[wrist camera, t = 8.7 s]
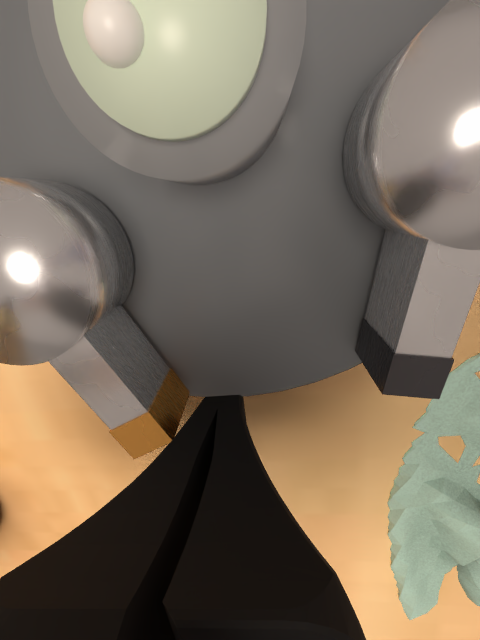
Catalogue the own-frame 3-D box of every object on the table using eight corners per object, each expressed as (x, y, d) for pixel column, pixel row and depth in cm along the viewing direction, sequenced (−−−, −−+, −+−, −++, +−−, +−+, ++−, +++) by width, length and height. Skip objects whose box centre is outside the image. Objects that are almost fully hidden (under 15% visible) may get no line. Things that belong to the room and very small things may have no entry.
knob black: (363, 30, 7) (421, -61, 5) (558, 42, 7) (727, -44, 5) (308, 346, 11) (325, 394, 8) (443, 357, 10) (505, 410, 8)
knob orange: (-39, 233, 10) (-147, 245, 7) (66, 147, 9) (-17, 125, 6) (128, 422, 12) (92, 482, 10) (224, 374, 11) (215, 427, 9)
